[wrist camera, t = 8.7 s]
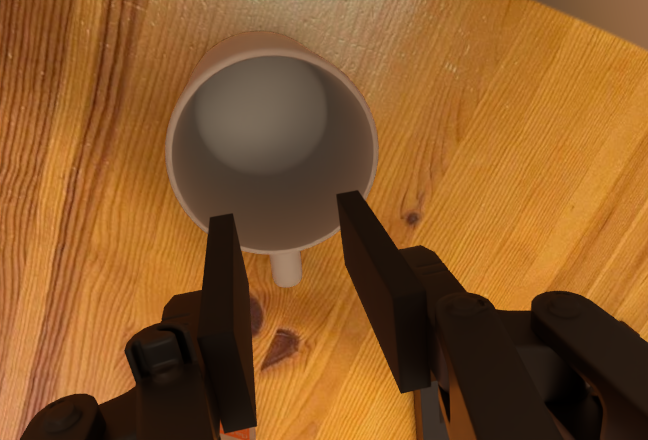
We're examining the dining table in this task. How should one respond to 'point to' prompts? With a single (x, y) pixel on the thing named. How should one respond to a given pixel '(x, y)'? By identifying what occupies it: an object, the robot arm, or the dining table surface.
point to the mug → (270, 145)
